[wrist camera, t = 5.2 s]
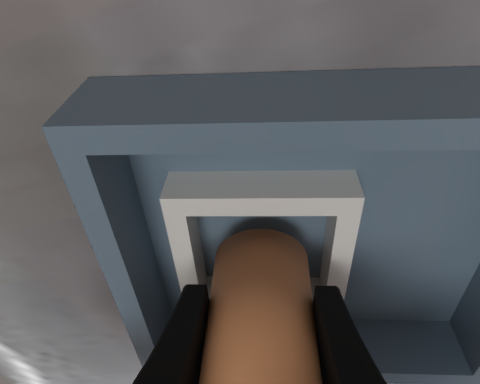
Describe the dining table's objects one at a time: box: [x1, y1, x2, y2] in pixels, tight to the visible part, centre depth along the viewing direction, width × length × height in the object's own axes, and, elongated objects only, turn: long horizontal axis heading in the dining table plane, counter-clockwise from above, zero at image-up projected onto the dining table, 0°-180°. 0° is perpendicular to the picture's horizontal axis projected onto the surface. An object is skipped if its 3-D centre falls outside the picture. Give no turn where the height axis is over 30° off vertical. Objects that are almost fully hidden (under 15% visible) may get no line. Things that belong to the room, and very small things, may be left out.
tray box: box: [42, 66, 480, 384], centre depth 13 cm, size 14×12×3 cm
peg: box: [199, 229, 322, 384], centre depth 10 cm, size 3×3×7 cm
